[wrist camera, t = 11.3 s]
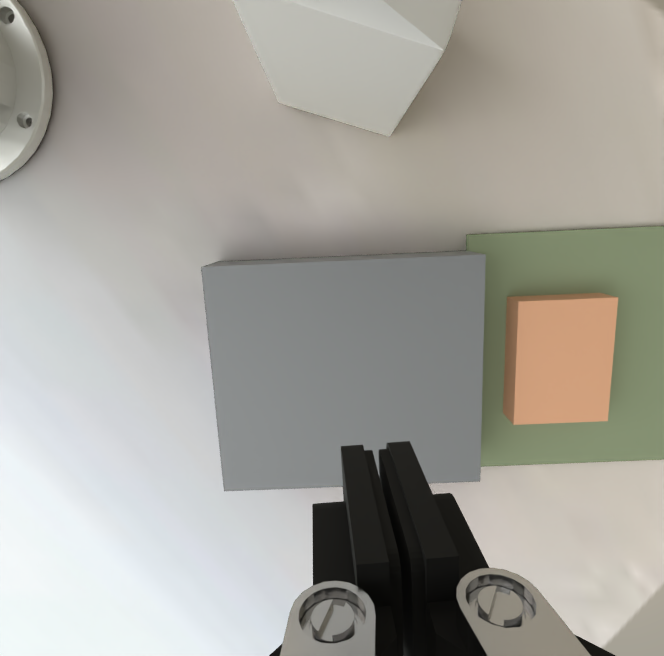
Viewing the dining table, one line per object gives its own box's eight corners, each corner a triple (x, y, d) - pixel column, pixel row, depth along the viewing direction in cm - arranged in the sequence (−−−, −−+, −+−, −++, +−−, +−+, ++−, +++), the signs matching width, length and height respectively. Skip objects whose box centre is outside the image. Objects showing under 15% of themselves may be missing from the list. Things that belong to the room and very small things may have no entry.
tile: (618, 297, 29) (600, 292, 31) (518, 301, 29) (506, 296, 31) (607, 421, 30) (591, 409, 32) (513, 424, 31) (502, 412, 32)
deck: (217, 261, 31) (201, 266, 27) (466, 250, 31) (485, 254, 27) (236, 460, 34) (224, 491, 30) (462, 451, 34) (479, 481, 30)
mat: (466, 234, 30) (468, 234, 30) (687, 224, 30) (692, 224, 30) (462, 464, 34) (464, 467, 33) (661, 456, 34) (665, 459, 33)
